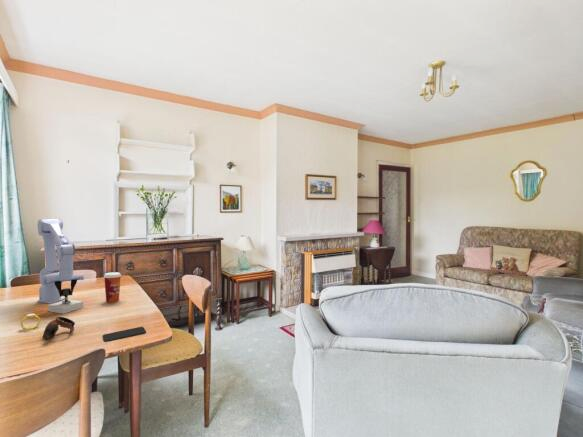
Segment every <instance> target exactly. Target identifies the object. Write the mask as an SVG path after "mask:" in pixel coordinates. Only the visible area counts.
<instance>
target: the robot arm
mask: <svg viewBox="0 0 583 437" xmlns="http://www.w3.org/2000/svg"><path fill="white" fill-rule="evenodd" d="M63 228H64V221H63V219H61V218H39V219H38V220H37V233H38V235H39V236H41V237H42V240H43V249H44V258H45V260H44V261H45V267H43V268H42V269H41V270H40V271H39V283H40V285H41V286H40V287H39V290H38V294H39V295H38V297H39V298H38V300H37V302H39V303H45V304H54V303H57V302H61V301H64V300H65V297H63V296H62V285H63V283H64V282H70V289H71V295H70V296H73V292H74V289H75V287H76V284H77V283H78V281H83V280H84V279H85V278H84V276H85V275H82V274H81V275H74V255H75V254H76V246H75V244H74V243H72V242H70V240H69V238H68V236H67V235H65V234H63ZM57 260H58V262H57Z"/></svg>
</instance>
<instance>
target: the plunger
mask: <svg viewBox="0 0 583 437" xmlns="http://www.w3.org/2000/svg"><path fill="white" fill-rule="evenodd" d="M61 290H62V297H64V298H65V299H64V300H65V301H64V300H61V301H62V303H64V304H66V303H70V301H69V300H68V299H69V297H70V296H72V295H71V287H70V288H68V287H65V288H61Z"/></svg>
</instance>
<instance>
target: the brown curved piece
mask: <svg viewBox="0 0 583 437" xmlns="http://www.w3.org/2000/svg"><path fill="white" fill-rule="evenodd" d="M75 325H76V322H75V321H73V320H72V319H70V318H68V317H64V316H56V317H55V319H52V320H51V321H50V322H48V324H46V327H45V329H44V331H43V334H42V339H44V340H45V341H46V340H47V339H53V338H54V337H55V335H56V333H57V332H58V331H59V328H60V327H61V328H66V329H69V332H68V335H69V336H71V335H72V334H73V332H74V331H75Z"/></svg>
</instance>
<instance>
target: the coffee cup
mask: <svg viewBox="0 0 583 437" xmlns="http://www.w3.org/2000/svg"><path fill="white" fill-rule="evenodd" d="M121 276H122V274H121V273H120V272H117V271H115V272H107V273H105V274H104V275H103V278H104V289H105V291H104V292H105V293H104V294H105V302H106V303H109V304H111V303H116V302H119V300H120V290H121V278H122V277H121Z"/></svg>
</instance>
